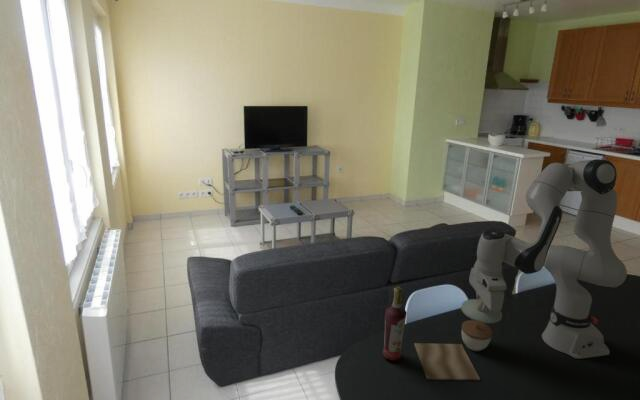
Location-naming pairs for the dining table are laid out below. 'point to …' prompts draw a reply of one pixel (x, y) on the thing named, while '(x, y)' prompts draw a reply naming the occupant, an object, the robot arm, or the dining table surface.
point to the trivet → (445, 362)
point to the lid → (480, 312)
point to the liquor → (394, 327)
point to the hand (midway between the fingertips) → (481, 307)
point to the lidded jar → (476, 335)
